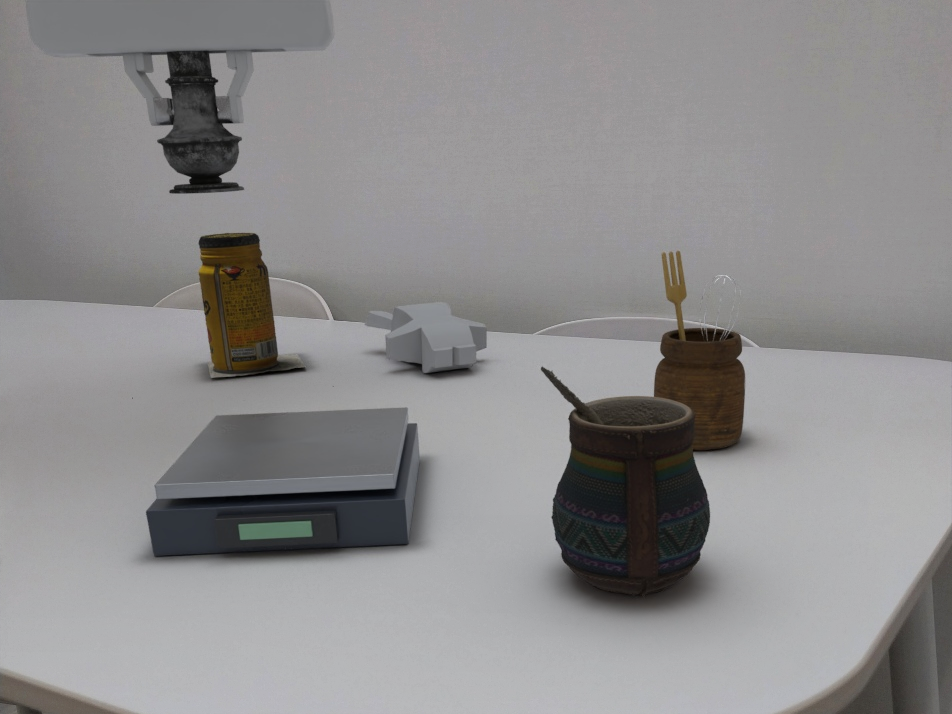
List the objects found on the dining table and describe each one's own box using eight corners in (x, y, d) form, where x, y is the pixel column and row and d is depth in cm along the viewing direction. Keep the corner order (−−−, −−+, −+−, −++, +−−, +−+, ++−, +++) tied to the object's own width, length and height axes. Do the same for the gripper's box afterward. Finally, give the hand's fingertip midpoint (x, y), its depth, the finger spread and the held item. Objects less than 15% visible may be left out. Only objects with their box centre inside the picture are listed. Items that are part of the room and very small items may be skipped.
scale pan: (156, 499, 49) (154, 485, 49) (217, 427, 61) (215, 415, 61) (395, 489, 49) (394, 474, 49) (408, 419, 61) (407, 407, 61)
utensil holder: (694, 458, 61) (702, 264, 57) (632, 435, 66) (634, 255, 62) (761, 441, 64) (774, 255, 60) (696, 420, 69) (703, 247, 65)
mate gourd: (727, 605, 42) (740, 381, 39) (556, 616, 42) (552, 390, 38) (687, 541, 49) (694, 345, 45) (538, 550, 49) (534, 352, 45)
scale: (148, 562, 49) (140, 516, 48) (218, 468, 62) (212, 431, 61) (407, 550, 49) (404, 504, 48) (419, 459, 63) (417, 422, 62)
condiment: (207, 364, 92) (187, 233, 88) (297, 355, 95) (282, 228, 90) (211, 380, 86) (190, 240, 81) (307, 370, 88) (292, 234, 84)
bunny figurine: (402, 336, 81) (352, 292, 93) (404, 393, 83) (355, 343, 95) (505, 324, 84) (445, 283, 97) (505, 380, 87) (445, 333, 99)
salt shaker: (147, 193, 70) (118, 7, 66) (212, 188, 74) (188, 14, 70) (200, 194, 67) (173, -1, 62) (265, 188, 71) (243, 6, 67)
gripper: (-15, -109, 61) (31, 128, 66) (314, -116, 61) (335, 119, 66) (27, -87, 66) (66, 129, 72) (326, -94, 67) (344, 120, 72)
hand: (198, 124), depth 69 cm, fingers closed on salt shaker, 3 cm apart
